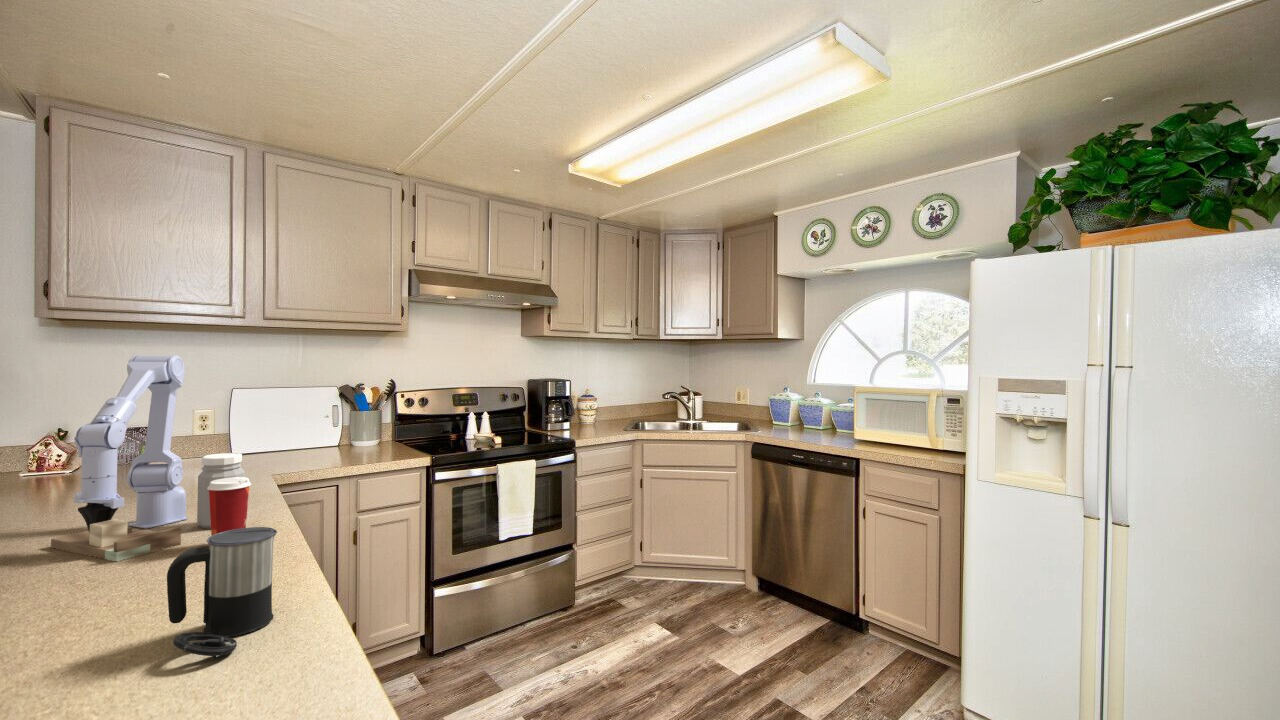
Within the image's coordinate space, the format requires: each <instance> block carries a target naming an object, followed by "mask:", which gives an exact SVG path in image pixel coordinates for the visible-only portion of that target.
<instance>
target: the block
mask: <svg viewBox="0 0 1280 720" xmlns="http://www.w3.org/2000/svg"><path fill="white" fill-rule="evenodd" d="M127 526H128V521H127V520H123V519H117V518H114V519H111V520H108V521H103V522H99V523H94V524H90V534H89V545H92V546H97V547H101V548H102V547H106V546H110V545H114V542H118V541H122V540H126V539H127Z"/></svg>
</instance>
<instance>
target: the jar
mask: <svg viewBox="0 0 1280 720" xmlns="http://www.w3.org/2000/svg"><path fill="white" fill-rule="evenodd" d="M242 461H243V453H238V452H225V453H223V452H221V453H213V454H207V455H204V456H203V457H201V465H203V467H201V470H202V471H201V472H200V473H199V475H198V476H197V503H196V505H197V512H196V523H197V524H198V525H199V527H200V528H202V529H208V530H209V529H210V530H211V520H210V501H209V490H208V489H207V488H208V487H209V485H210V482H211V481H214V480H217V479H223V478H232V477H246V471H245V470H244V469H243V468H242V466H243V464H241V462H242ZM197 524H196V525H197Z"/></svg>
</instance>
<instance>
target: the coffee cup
mask: <svg viewBox="0 0 1280 720" xmlns="http://www.w3.org/2000/svg"><path fill="white" fill-rule="evenodd" d="M251 485H252V483H251V482H250V479H249V477H246V476H245V477H232V478H223V479H217V480H214V481H211V482H210V485H209V487H208V488H207V489H208V490H209V501H210V520H211V529H210V533H211V535H210V536H212V535H215V534H217V533H221V532H225V531H229V530H234V529H241V528H247V518H248V509H249V508H248V506H249V495H250V486H251Z"/></svg>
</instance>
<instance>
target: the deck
mask: <svg viewBox="0 0 1280 720" xmlns="http://www.w3.org/2000/svg"><path fill="white" fill-rule="evenodd" d="M181 534H182V528H181V526H175V527H171V528H168V529H167V528H166V529H163V530H159V531H156V530H150V529H145V528H144V529H141V530H137V531H133V526H127V539H126V540H122V541H118V542H114V545H110V546H106V547H102V548H101V547H97V546H92V545H89V531H88V530H85V531H81V532H76V533H72V534H67V535H63V536H62V535H61V536H58V537H53V538H51V539H50V548H51V549H54V548H56V549H55V550H59V549H61V550H60V551H64V550H66V551H65V552H68V551H70V552H69V553H73V552H75V553H74V554H78V553H79V554H78V555H82V554H84V556H87V555H88V557H91V556H94V557H93V558H96V557H98V558H97V559H101V558H103V559H102V560H105V559H108V560H107V561H110V560H113V561H112V562H115V561H118V562H121V561H120V560H122V561H124V560H123V559H125V560H128V559H127V558H129V559H131V557H133V558H135V557H134V556H136V557H140V556H143V555H142V554H144V555H146V554H145V553H147V554H150V553H149V552H151V553H154V552H157V551H156V550H158V551H161V550H160V549H162V550H164V549H163V548H165V549H169V548H172V547H171V546H173V547H176V546H180V545H181V544H182V542H181V541H182V539H181V538H182V535H181ZM168 547H169V548H168ZM153 551H154V552H153ZM139 555H140V556H139Z"/></svg>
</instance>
